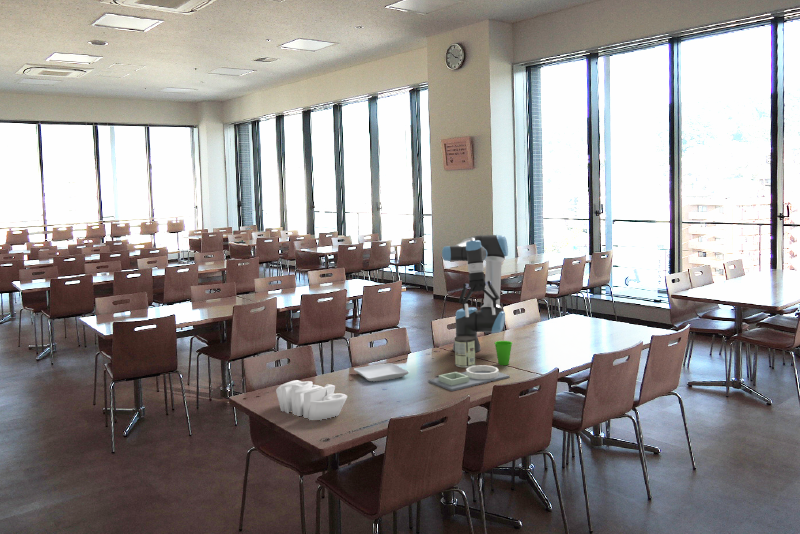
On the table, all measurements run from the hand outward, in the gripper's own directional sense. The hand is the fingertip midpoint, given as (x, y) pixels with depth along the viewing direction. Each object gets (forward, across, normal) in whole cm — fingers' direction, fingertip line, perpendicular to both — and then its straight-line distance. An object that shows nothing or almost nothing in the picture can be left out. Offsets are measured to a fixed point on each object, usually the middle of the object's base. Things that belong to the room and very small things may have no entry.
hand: (480, 316), depth 326 cm
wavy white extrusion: (+32, -51, -76) cm, 97 cm away
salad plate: (+25, -47, -20) cm, 57 cm away
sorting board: (+29, -4, -12) cm, 32 cm away
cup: (+26, +2, +20) cm, 33 cm away
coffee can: (+24, -15, +12) cm, 31 cm away
